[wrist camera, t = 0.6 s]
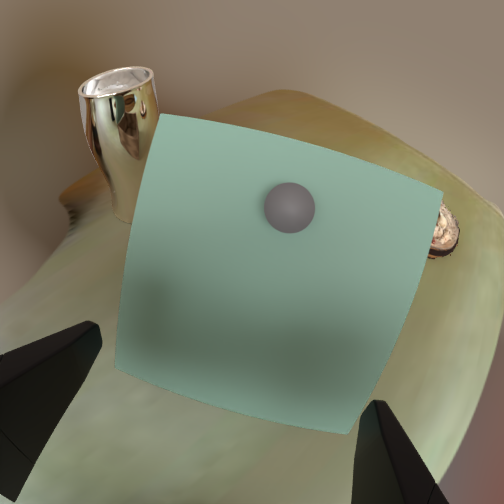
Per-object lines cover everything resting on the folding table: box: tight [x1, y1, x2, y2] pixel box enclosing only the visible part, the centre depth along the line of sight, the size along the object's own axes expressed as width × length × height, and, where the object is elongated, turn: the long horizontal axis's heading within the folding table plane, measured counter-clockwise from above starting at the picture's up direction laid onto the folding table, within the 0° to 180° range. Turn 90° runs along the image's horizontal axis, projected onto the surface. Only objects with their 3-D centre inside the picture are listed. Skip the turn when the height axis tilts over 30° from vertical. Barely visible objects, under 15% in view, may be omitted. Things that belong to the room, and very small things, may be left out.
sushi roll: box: [427, 201, 460, 259], centre depth 34 cm, size 15×15×4 cm
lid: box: [115, 114, 443, 435], centre depth 13 cm, size 14×14×2 cm
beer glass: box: [78, 67, 159, 223], centre depth 25 cm, size 7×7×15 cm
